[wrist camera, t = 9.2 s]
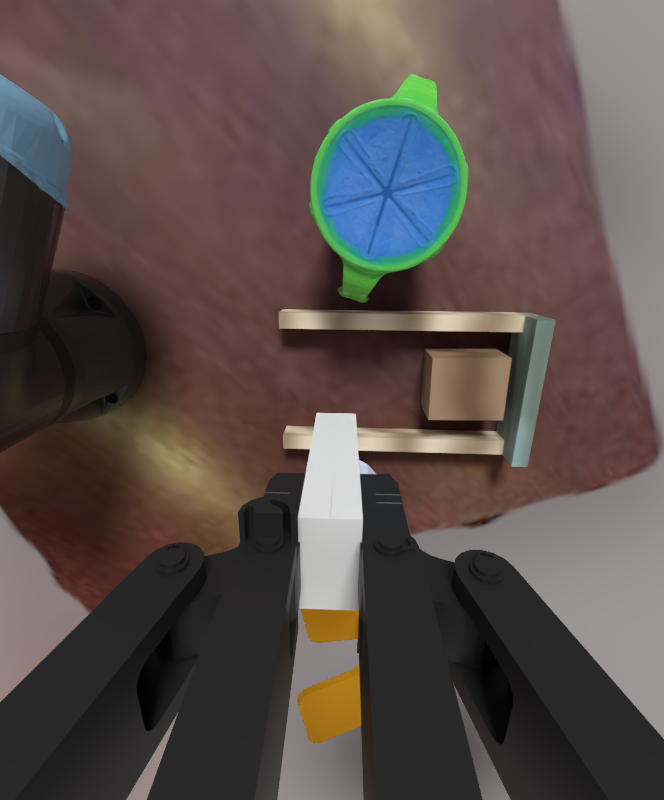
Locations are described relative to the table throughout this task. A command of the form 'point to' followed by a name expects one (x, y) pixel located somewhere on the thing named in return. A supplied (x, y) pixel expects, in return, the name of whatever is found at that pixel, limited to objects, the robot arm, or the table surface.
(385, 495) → the robot arm
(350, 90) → the table surface
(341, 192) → the snack cup
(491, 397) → the block
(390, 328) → the lane
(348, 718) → the soap bottle
